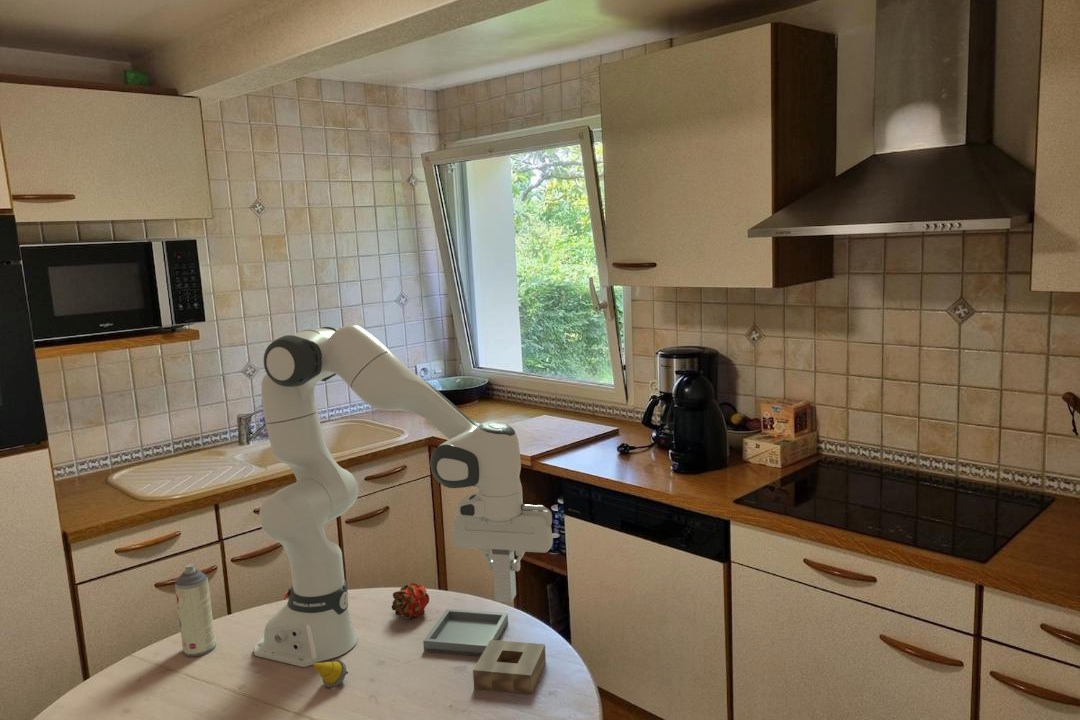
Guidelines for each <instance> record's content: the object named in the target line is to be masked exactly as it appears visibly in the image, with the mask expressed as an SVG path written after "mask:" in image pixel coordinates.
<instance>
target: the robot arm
mask: <svg viewBox="0 0 1080 720" xmlns="http://www.w3.org/2000/svg"><path fill="white" fill-rule="evenodd" d="M263 367H264V371H265V373H266V374H265V375H264V376H263V378H262V380H261V385H260V386H261V403H262V410H263V411H262V412H263V418H264V420H265V421H264V423H265V427H266V430H267V436H268V439H269V444H270V447H271V452H272V456H273V458H274V459H275V460H277V461H278V462H279V463H282V464H284V465H287V466H289V467H290V469H291V471H292V473H293V474H294V477H295V479H296V482H294V483H291V484H288V485H287V486H284V487H283V488H280V489H278V490H276V492H274V493H273V494H272V495H270V496H269V497H268V498H267V499H266V500H265V501H263V503H262V504H261V506H260V508H259V516H258V517H259V523H260V526H261V529H263V532H264V533H265V534H266V536H268V537H269V538H271V539H272V540H273V541H276V542H279V544H281V546H282V547H283V548H284V550H285V552H286V554H287V555H286V556H287V557H288V561H289V565H290V571H291V572H290V573H291V580H292V585H291V587H289V588H288V589H287V591H286V592H285V593H284V594H283V595H282V597H283V599H282V600H283V601H285V600H286V599H287V598H288V600H287V602H286V603H285V604H284V605H283V606H281V608H280V609H278V610H277V611H276V612H274V614H273V615H272V616H271V617H270V618H269V619H268V621H267V622H266V624H265V627H264V632H263V636H262V637H261V638H260V639H259V640H258V641H257V642H256V643H255V646H254V648H253V655H254V656H256V657H259V658H263V659H268V660H271V661H272V660H273V661H276V662H280V663H285V664H288V665H289V664H290V665H293V666H297V667H302V668H306V667H310V666H313V664H314V663H321V662H324V661H329V660H332V659H334V658H338V657H340V656H342V655H344V654H346V653H348V652H349V651H350V650H352V649H353V648H354V647H355V645H356V644H357V642H358V637H357V634H356V631H355V630H354V626H353V624H352V620H351V616H350V613H349V612H350V611H349V593H348V584H347V581H346V579H345V573H344V562H343V552H342V550H341V547H340V546H339V545H337V544H336V543H335V542H333V541H331V540H328V538H327V535H326V533H325V524H327V523H329V522H331V521H333V520H335V519H337V518H338V517H340V516H342V515H343V514H345V513H346V512H347V511H348V510H349V509H350V508H351V507H352V506H353V505H354V504H355V502H356V501H357V499H358V497H359V484H358V482H357V480H356V478H355V476H354V475H353V474H352V473H351V472H349V470H347V469H345V468H343V467H342V466H341V465H339V464H338V463H337V462H336V460H335V459H334V457H333V455H332V454H331V451H330V450H329V448H328V446H327V443H326V439H325V436H324V432H323V428H322V425H321V424H322V423H321V420H320V416H319V411H318V408H317V404H316V400H315V387H316V386H317V383H318V382H320V381H321V382H325V381H326V382H327V381H328V380H330V379H331V378H332V377H335V376H336V375H337V376H339V378H340V379H342V380H343V381H344V382H345V384H346V385H348V387H349V388H350V389H351V390H352V391H353V392H354V393H355V395H356V396H357V397H359V399H361V400H362V401H363V402H365V404H367V405H369V406H370V407H372V408H373V409H375V410H379V411H386V412H387V411H388V412H389V411H400V412H407V413H412V414H416V415H418V416H420V417H422V418H424V419H425V420H426V421H427V422H428V423H430V424H431V425H432V426H433V427H434V428H436V430H438V431H439V432H440V433H441V434H442V435H443V436H444V437H445V438H447V440H446V441H444V442H442V443H441V444H440V445H438V446H437V447H436V448H435V449H434V450H433V452H431V456H430V461H429V462H430V463H429V464H430V470H431V474H432V476H433V478H435V480H436V482H438V483H439V484H440V485H442V486H443V487H445V488H448V489H461V488H470V487H476V489H477V492H476V493H475V492H474V493H471V494H467V495H465V497H463V498H461V500H459V501H458V502H457V504H456V505H455V507H454V511H455V514H456V516H455V517H454V519H453V523H452V535H451V536H452V544H453V545H454V546H455V548H457V549H472V550H473V549H474V550H475V549H476V550H480V553H481V556H482V557H483V558H484V560H485V561H486V563H487V564H486V565H487V570H492V571H493V558H492V553H490V551H492V549H497V550H509V551H514V552H515V556H517V558H516V559H514V560H513V561H512V562H511V567H512V568H511V571H515V572H520V570H521V559H522V558H523V557H524V555H525V553H548V551H549V550H550V549H551V548H552V546H553V543H554V537H553V532H552V531H553V530H552V523H553V513H552V511H551V510H550V509H549V508H548V507H545V505H543V504H537V505H535V504H534V505H533V504H524V503H523V486H522V483H521V478H520V475H521V469H522V463H521V461H522V460H521V451H520V443H519V438H518V435H517V433H516V430H515V429H514V428H513V427H511V426H510V425H508V424H506V423H503V422H499V421H487V422H483V423H478V422H477V421H475V420H473V419H471V418H470V417H469V416H468V415H467V414H465V413H464V412H463V411H462V410H461V409H459V407H457V406H456V405H455V404H454V403H453V402H452V401H450V400H449V399H448V398H447V397H446V396H445V395H444V394H443V393H441V392H440V391H439V390H438V389H436V388H435V387H434V386H433V385H432V384H430V383H429V382H427V381H426V380H425V379H423V378H422V377H421V376H419V375H417V374H416V373H414V372H413V371H412V370H411V369H410V368H409V367H408V366H406V365H405V364H404V363H403V362H402V361H401V360H400V359H399V358H398V357H397V356H396V355H395V354H394V353H393V352H392V351H391V350H390V349H389V348H388V347H387V346H386V345H385V344H383V343H382V341H381V340H379V339H378V338H377V337H375V336H374V335H373V334H372V333H370V332H369V331H367V330H366V329H365V328H363V327H362V326H360V325H357V324H347V325H344V326H341V327H339V328H336V327H333V326H323V327H319V328H310V329H308V328H307V329H303V330H300V331H298V332H296V333H293V334H288V335H283V336H281V337H279V338H277V339H275V340H274V341H272V342H270V343H269V344H268V346H267V348H266V349H265V351H264V353H263Z"/></svg>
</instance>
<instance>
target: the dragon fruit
mask: <svg viewBox="0 0 1080 720" xmlns="http://www.w3.org/2000/svg"><path fill="white" fill-rule="evenodd" d="M392 597H393V601H392V605H391V609H392V611H395V612H394V614H395V615H396V616H401V617H402V616H403V618H405V619H406V620H412V619H413V618H414V616H417V617H420V616H424V615H425V608H426V607H427V606H428V605H429V603H430V595H429V594H428V592H427V590H426V587H425V586H424V585H423V584H422V583H420V584H419V583H417V582H416V581H415V582H414V581H412V582H410V584H409V585H408V584H405V585H403V586H402V587H400V590H399V591H395V592H393V593H392Z"/></svg>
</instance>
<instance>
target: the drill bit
mask: <svg viewBox="0 0 1080 720" xmlns="http://www.w3.org/2000/svg"><path fill="white" fill-rule="evenodd" d="M312 666H313V667H314V669H315V670H316V671H317V673H318V674H319V676H320V677H321V678H322V682H323V684H324V686H326V687H328V688H330V689H334V688H337V687H338V686H340V685H341V684H342V683H343V681H344V679H345V678H346V676H347V674H349V671H347V666H346V663H345V662H344V661H342V660H340V659H333V660H332V661H325V662H324V661H322V662H317V663H314V664H312Z"/></svg>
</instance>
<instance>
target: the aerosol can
mask: <svg viewBox="0 0 1080 720" xmlns="http://www.w3.org/2000/svg"><path fill="white" fill-rule="evenodd" d="M184 568H185V570H184V571H183V572H182V573H181V574H180V575H179V577H178V578H176V580H175V581H174V582H175V584H174V588H175V597H176V604H177V613H178V619H179V628H180V635H181V636H180V637H181V644H182V645H181V646H182V653H183V656H185V657H187V658H195V657H196V658H197V657H201V656H205V655H207V654H209V653H211V652H212V651H214V650H215V649H216V647H217V644H216V637H215V635H216V634H215V626H214V619H213V618H214V617H213V611H212V602H211V593H210V592H211V591H210V585H209V579H208V575H207V574H206V573H205V572H202V571H201V570H198V569H197V568H195V565H194V563H190V564H186V565H185V567H184Z"/></svg>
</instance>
